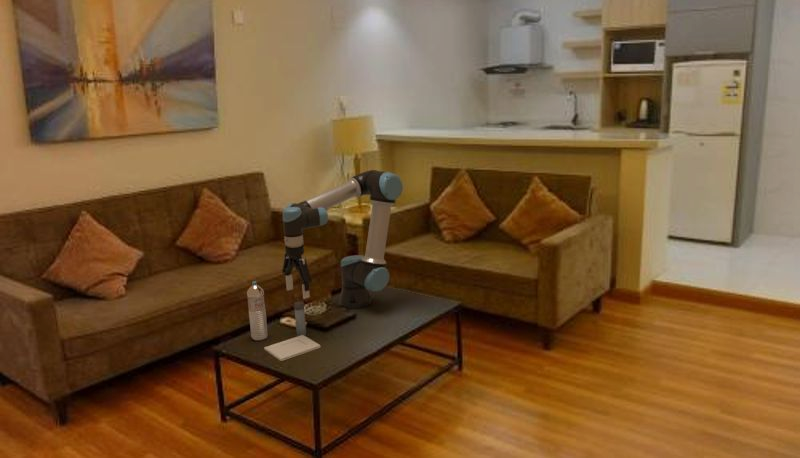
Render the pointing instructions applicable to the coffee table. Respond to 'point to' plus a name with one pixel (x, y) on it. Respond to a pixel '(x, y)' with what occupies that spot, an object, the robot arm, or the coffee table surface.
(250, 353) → the coffee table surface
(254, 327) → the water bottle
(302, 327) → the cylinder
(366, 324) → the coffee table surface
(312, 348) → the notepad
